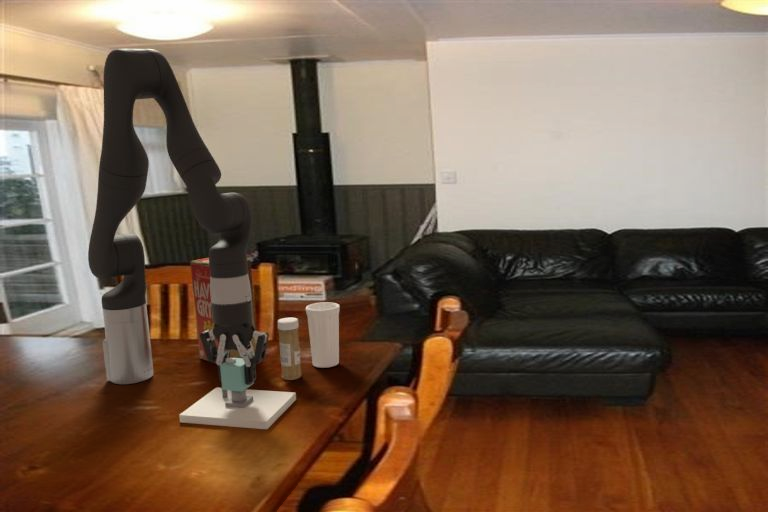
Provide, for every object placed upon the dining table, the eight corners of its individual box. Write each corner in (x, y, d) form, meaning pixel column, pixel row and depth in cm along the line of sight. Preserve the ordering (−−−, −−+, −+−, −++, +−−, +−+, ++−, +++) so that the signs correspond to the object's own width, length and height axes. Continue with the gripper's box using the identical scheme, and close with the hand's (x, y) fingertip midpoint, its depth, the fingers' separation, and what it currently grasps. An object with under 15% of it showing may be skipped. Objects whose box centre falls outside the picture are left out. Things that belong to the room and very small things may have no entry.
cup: (330, 372, 142) (326, 312, 139) (301, 367, 146) (298, 308, 143) (349, 361, 149) (346, 303, 146) (321, 357, 153) (318, 300, 150)
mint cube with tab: (253, 383, 123) (251, 356, 122) (241, 391, 119) (239, 363, 118) (234, 381, 124) (232, 354, 124) (222, 389, 120) (219, 361, 119)
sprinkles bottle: (305, 377, 139) (301, 319, 137) (286, 382, 137) (282, 323, 135) (296, 372, 143) (292, 315, 141) (278, 376, 141) (274, 319, 138)
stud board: (179, 422, 118) (177, 398, 117) (216, 394, 131) (215, 373, 131) (267, 429, 114) (265, 405, 113) (296, 399, 127) (294, 377, 126)
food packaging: (197, 358, 155) (188, 260, 151) (228, 348, 162) (220, 254, 158) (228, 369, 147) (220, 265, 143) (260, 358, 154) (253, 258, 150)
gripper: (187, 301, 117) (195, 387, 120) (256, 303, 113) (263, 392, 116) (207, 292, 124) (214, 374, 127) (273, 294, 121) (279, 377, 123)
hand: (238, 382), depth 122 cm, fingers closed on mint cube with tab, 4 cm apart
